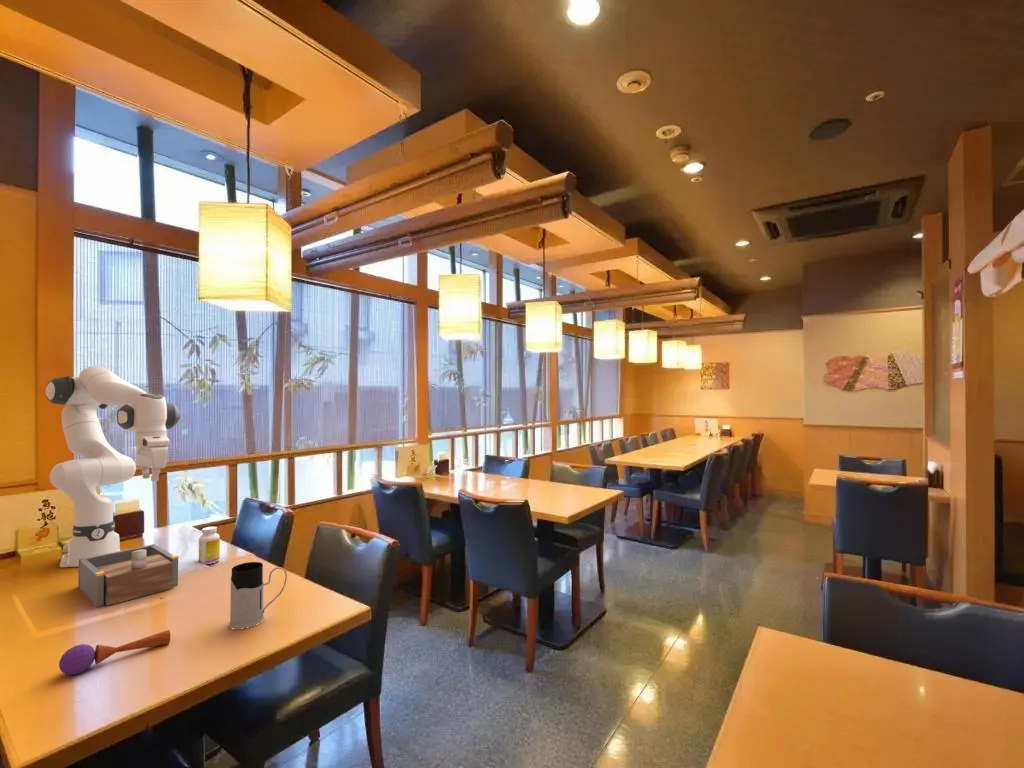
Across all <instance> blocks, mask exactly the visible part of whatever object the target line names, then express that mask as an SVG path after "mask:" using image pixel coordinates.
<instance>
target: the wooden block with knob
mask: <svg viewBox="0 0 1024 768" xmlns="http://www.w3.org/2000/svg"><path fill="white" fill-rule="evenodd" d="M146 553H147V550H145V549H143V550H136V551H133V552H132V560H128V561H124V562H119V563H114V564H110V565H105V566H101V567H96V568H97V569H98V570H99V571H100V572H101V571H103V572H104V603H105V604H106V605H105V606H111V605H114V604H119V603H122V602H126V601H129V600H130V601H131V600H134V599H137V598H141V597H145V596H149V595H153V594H156V593H159V592H163V591H164V592H165V591H168V590H170V589H173V588H174V587H173V562H171V561H169V560H168V559H166V558H164V557H163V556H161V555H159V554H156V555H151V556H147V557H146Z"/></svg>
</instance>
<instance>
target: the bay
mask: <svg viewBox="0 0 1024 768" xmlns="http://www.w3.org/2000/svg"><path fill="white" fill-rule="evenodd" d="M143 549H145V550H147V553H146V557H147V556H151V555H156V554H159V555H161V556H163V557H164V558H166V559H168V560H169V561H171V562H173V588H174V587H177V586H179V582H178V581H179V555H177V554H173V553H170V552H169V551H167V550H166V549H163V548H162V547H160V546H159V545H157V544H149V545H143V546H138V547H134V548H128V549H123V550H121V551H118V552H113V553H108V554H103V555H98V556H93V557H88V558H83V559H79V567H78V579H77V581H78V584H77V585H78V586H77V587H78V589H79V590H80V591H81V592H82V593H83V595H84V596H85V597H87V599H88V600H89V601H90V602H91V603H92V604H93V605H94V606H95V607H96V608H99V607H100V608H101V607H103V606H107V605H106V604H105V603H104V572H103V571H101V572H100V571H99V570H98V569H97V568H96V567H101V566H105V565H110V564H114V563H119V562H124V561H128V560H132V552H133V551H136V550H143Z"/></svg>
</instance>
